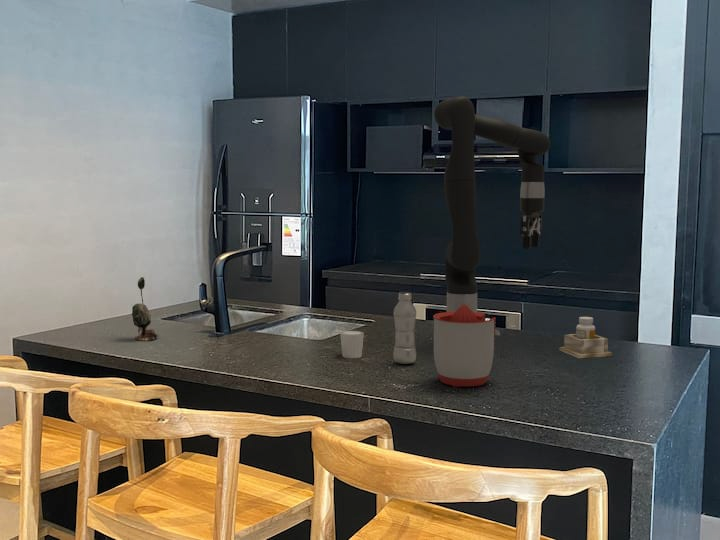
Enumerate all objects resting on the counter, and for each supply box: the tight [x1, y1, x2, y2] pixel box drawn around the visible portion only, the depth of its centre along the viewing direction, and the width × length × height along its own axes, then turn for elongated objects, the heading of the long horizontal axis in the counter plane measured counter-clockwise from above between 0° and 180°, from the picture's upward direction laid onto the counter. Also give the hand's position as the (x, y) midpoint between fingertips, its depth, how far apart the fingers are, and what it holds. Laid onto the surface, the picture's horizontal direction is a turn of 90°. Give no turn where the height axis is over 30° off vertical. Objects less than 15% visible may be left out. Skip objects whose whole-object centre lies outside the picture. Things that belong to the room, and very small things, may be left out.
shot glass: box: [339, 330, 364, 359], centre depth 223 cm, size 7×7×7 cm
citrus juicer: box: [432, 304, 501, 388], centre depth 193 cm, size 16×17×20 cm
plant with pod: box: [131, 276, 159, 342], centre depth 248 cm, size 8×11×20 cm
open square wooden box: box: [558, 333, 613, 359], centre depth 227 cm, size 11×11×5 cm
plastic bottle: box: [392, 291, 417, 365], centre depth 213 cm, size 6×7×20 cm
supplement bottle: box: [575, 316, 596, 339], centre depth 227 cm, size 5×5×10 cm
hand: (530, 247), depth 245 cm, fingers open, 8 cm apart
